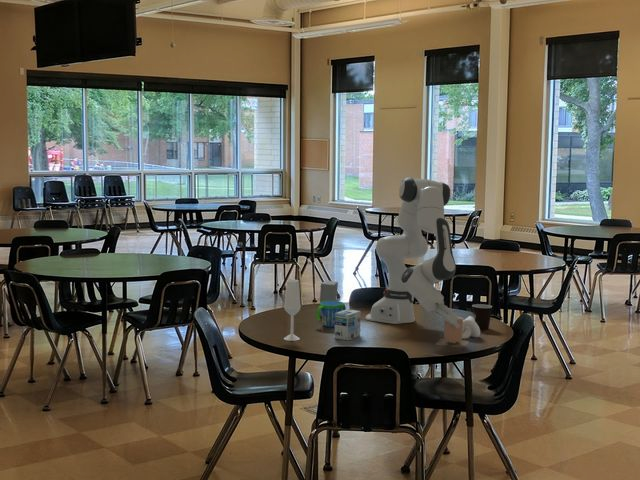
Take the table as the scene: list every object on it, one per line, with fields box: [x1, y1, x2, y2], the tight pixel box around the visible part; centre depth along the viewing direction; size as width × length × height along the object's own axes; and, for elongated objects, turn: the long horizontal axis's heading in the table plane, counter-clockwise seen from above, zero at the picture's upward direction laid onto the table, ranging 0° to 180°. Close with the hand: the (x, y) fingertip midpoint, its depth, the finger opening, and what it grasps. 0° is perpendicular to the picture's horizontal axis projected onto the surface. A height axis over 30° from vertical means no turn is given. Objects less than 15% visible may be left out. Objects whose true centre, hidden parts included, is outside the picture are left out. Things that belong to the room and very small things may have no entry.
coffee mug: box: [471, 303, 493, 331], centre depth 370 cm, size 12×9×10 cm
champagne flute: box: [283, 279, 302, 342], centre depth 341 cm, size 7×7×24 cm
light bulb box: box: [334, 308, 362, 341], centre depth 346 cm, size 11×7×11 cm, turn 148°
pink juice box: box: [443, 315, 464, 342], centre depth 336 cm, size 5×6×10 cm
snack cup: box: [315, 300, 347, 328], centre depth 367 cm, size 16×10×10 cm
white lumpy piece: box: [459, 315, 481, 340], centre depth 349 cm, size 11×12×9 cm
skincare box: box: [319, 280, 339, 318], centre depth 388 cm, size 8×7×16 cm
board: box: [435, 337, 471, 349], centre depth 337 cm, size 12×12×1 cm
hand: (454, 324), depth 336 cm, fingers closed on pink juice box, 6 cm apart
